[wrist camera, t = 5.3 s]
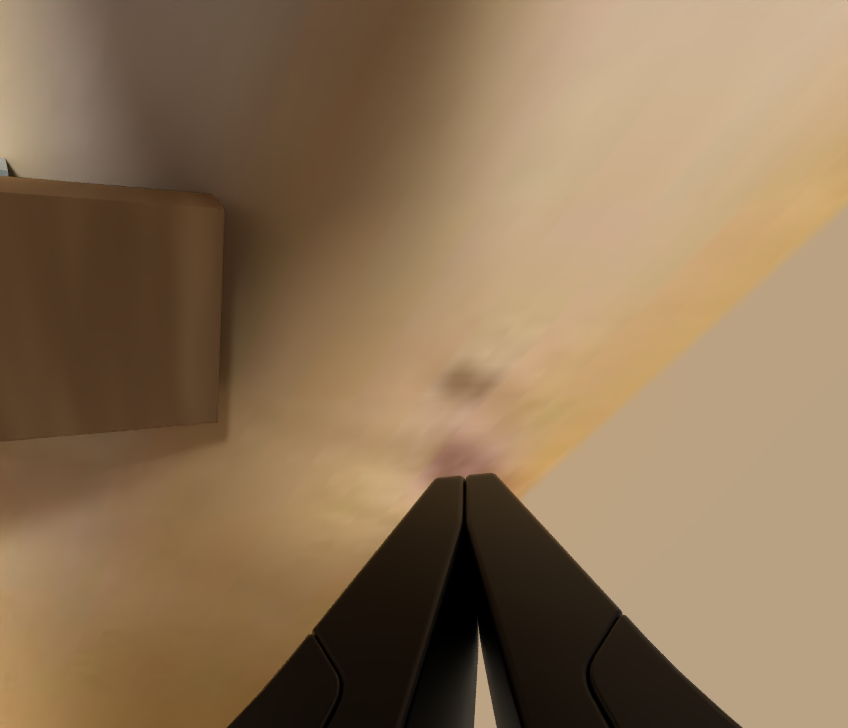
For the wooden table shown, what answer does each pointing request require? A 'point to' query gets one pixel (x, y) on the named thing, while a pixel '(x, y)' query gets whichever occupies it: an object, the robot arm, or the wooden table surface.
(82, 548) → the wooden table surface
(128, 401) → the domino
